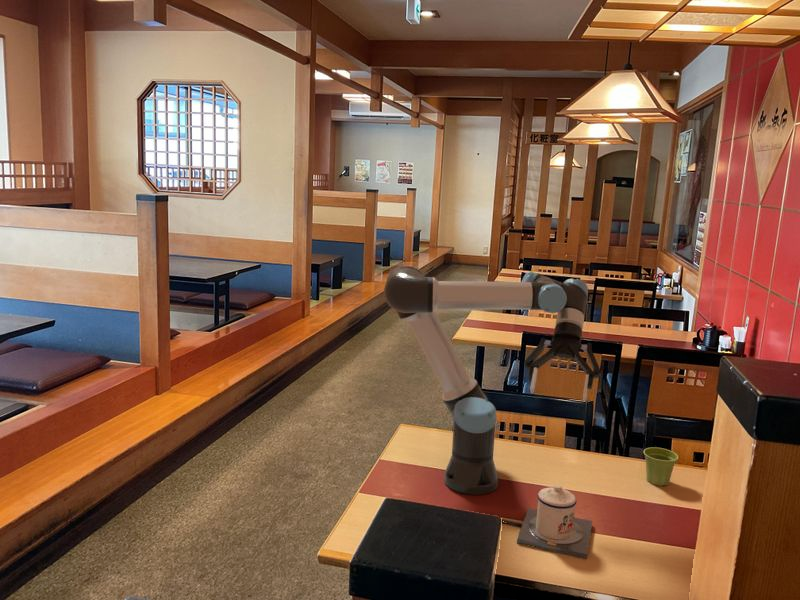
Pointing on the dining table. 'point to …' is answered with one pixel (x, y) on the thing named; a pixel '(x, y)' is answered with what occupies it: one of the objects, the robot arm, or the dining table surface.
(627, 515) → the dining table surface
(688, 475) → the dining table surface
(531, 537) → the cup warmer plate
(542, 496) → the teacup with lid
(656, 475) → the plant pot
